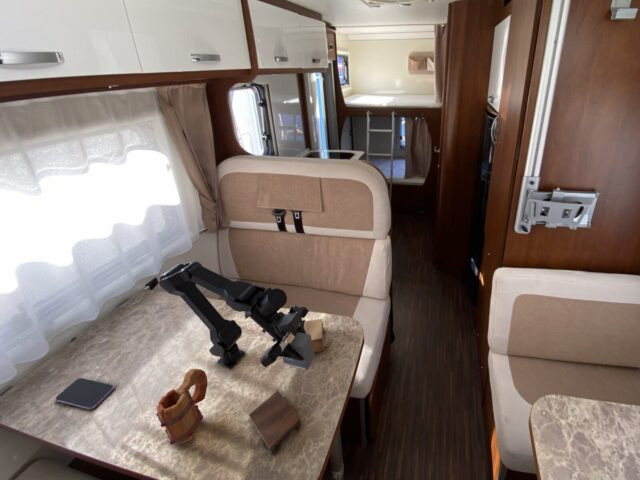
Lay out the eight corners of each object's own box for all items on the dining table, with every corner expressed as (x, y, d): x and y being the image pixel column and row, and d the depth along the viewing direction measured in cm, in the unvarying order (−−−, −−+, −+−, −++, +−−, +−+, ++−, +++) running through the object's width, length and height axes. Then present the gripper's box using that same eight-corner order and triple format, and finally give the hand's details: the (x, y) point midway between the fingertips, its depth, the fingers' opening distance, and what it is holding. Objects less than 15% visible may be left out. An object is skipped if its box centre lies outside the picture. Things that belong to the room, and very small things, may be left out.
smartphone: (91, 409, 90) (52, 399, 93) (92, 411, 91) (54, 401, 94) (115, 385, 97) (79, 376, 100) (116, 387, 97) (80, 379, 100)
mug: (187, 454, 79) (168, 419, 73) (161, 447, 81) (140, 413, 75) (224, 397, 92) (211, 364, 86) (202, 393, 94) (187, 360, 88)
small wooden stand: (251, 421, 86) (248, 414, 84) (279, 396, 92) (277, 390, 90) (271, 454, 78) (269, 447, 77) (301, 425, 84) (299, 418, 83)
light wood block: (289, 357, 104) (286, 345, 101) (291, 336, 112) (288, 324, 109) (324, 350, 106) (322, 338, 103) (324, 330, 114) (321, 318, 111)
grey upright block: (315, 356, 94) (311, 334, 91) (307, 370, 90) (302, 348, 86) (292, 350, 97) (287, 328, 93) (283, 364, 92) (277, 342, 88)
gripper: (260, 334, 77) (305, 373, 79) (298, 285, 94) (335, 318, 95) (242, 349, 83) (284, 385, 84) (281, 300, 99) (316, 331, 100)
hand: (306, 352), depth 91 cm, fingers closed on grey upright block, 4 cm apart
